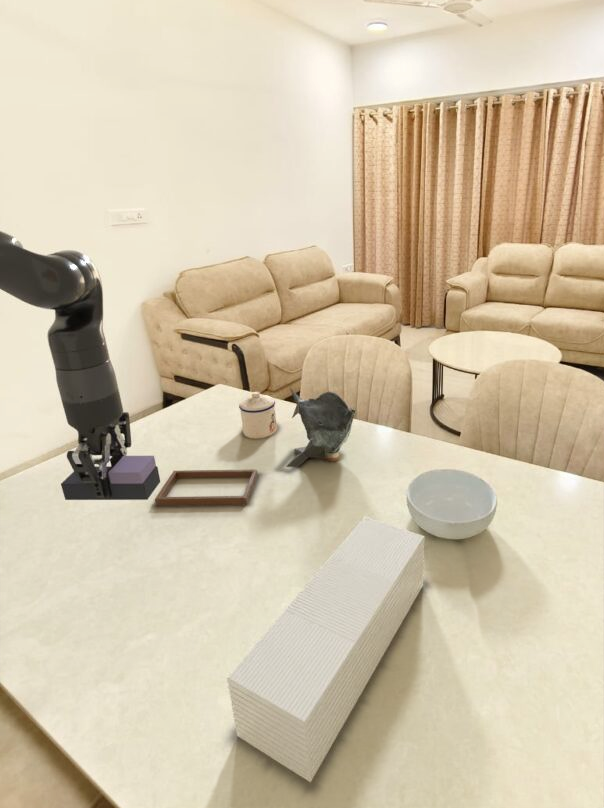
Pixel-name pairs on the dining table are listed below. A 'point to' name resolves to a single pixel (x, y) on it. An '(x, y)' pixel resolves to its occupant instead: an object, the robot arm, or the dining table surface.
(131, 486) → the navy and purple block
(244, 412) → the teacup with lid
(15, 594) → the dining table surface
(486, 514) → the cereal bowl
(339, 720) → the stack of papers
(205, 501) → the empty rectangular frame
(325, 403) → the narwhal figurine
